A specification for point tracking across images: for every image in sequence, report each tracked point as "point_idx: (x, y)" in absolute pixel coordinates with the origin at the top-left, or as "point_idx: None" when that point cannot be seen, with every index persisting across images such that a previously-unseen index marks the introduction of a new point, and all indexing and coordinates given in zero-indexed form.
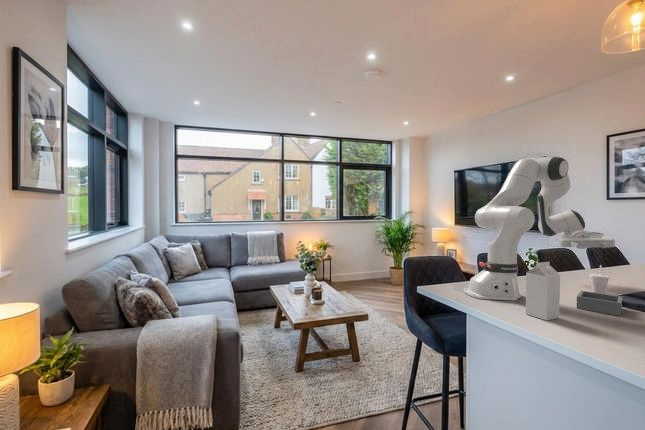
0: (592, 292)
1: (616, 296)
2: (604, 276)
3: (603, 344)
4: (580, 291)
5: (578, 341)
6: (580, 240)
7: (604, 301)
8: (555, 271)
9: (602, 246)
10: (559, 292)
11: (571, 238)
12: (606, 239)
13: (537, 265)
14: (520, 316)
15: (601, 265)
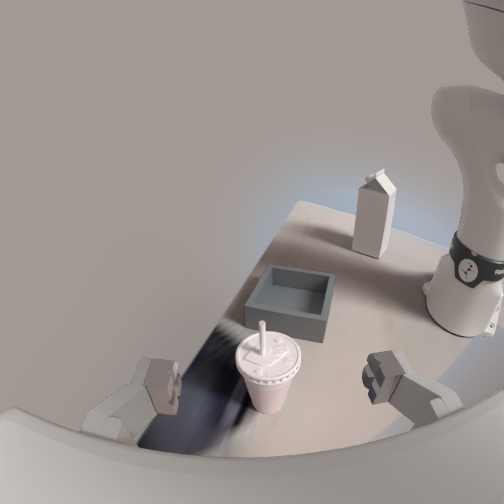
0: (302, 314)
1: (256, 303)
2: (254, 345)
3: (311, 218)
4: (328, 311)
5: (329, 216)
6: (384, 439)
7: (292, 268)
8: (365, 184)
9: (179, 380)
10: (356, 214)
11: (489, 487)
12: (47, 434)
13: (383, 172)
14: (388, 241)
15: (260, 321)
